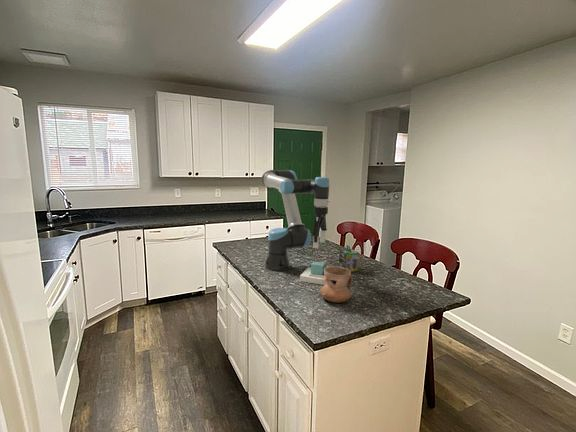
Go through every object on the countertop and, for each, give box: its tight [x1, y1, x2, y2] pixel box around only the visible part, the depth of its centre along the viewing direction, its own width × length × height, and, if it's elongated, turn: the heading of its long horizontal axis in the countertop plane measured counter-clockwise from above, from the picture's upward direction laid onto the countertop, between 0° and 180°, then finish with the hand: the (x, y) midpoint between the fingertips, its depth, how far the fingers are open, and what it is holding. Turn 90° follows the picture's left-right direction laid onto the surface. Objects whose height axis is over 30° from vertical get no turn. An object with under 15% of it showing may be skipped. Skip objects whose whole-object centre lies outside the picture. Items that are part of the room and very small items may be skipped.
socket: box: [299, 266, 327, 286], centre depth 171 cm, size 20×16×4 cm
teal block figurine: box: [310, 261, 326, 275], centre depth 171 cm, size 7×5×8 cm
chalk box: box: [338, 245, 360, 273], centre depth 186 cm, size 9×9×15 cm
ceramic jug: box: [319, 265, 353, 304], centre depth 145 cm, size 18×14×14 cm
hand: (319, 244), depth 169 cm, fingers open, 13 cm apart
